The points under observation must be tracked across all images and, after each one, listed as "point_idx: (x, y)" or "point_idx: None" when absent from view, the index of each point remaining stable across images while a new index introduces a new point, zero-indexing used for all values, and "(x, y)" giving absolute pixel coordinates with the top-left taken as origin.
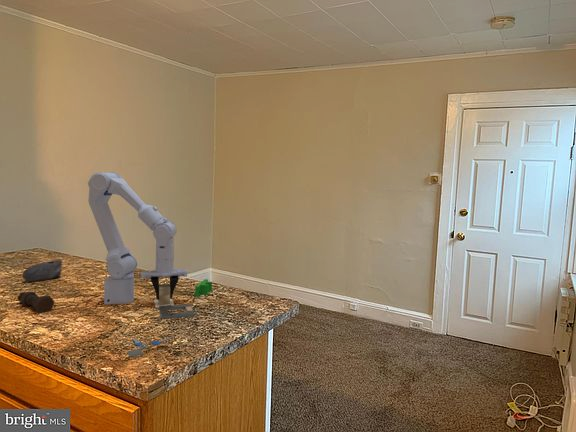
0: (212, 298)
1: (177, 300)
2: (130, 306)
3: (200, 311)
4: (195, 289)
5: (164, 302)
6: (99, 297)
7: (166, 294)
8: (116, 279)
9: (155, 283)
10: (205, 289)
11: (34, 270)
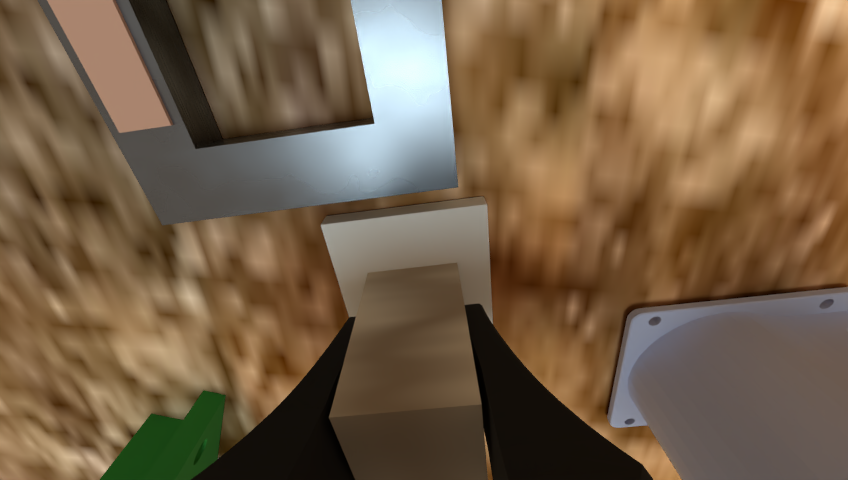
0: (106, 390)
1: None
2: (662, 291)
3: (61, 111)
4: (182, 461)
5: (412, 278)
6: None
7: (389, 332)
8: None
9: (565, 453)
10: (129, 470)
11: None
